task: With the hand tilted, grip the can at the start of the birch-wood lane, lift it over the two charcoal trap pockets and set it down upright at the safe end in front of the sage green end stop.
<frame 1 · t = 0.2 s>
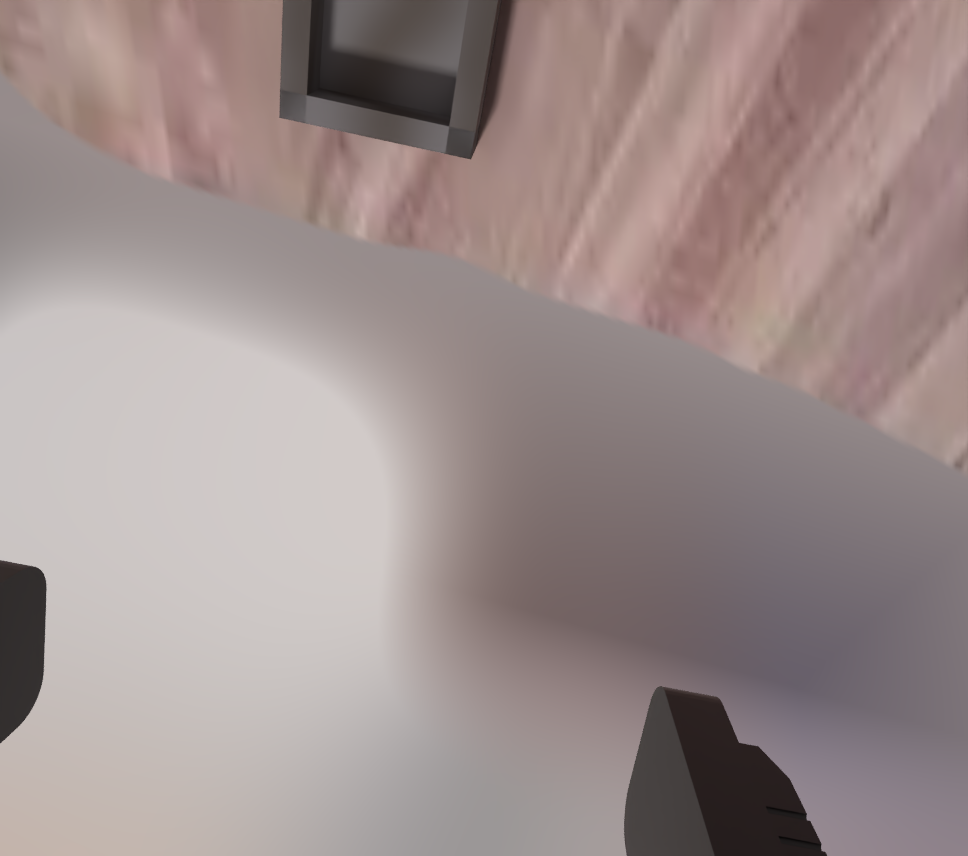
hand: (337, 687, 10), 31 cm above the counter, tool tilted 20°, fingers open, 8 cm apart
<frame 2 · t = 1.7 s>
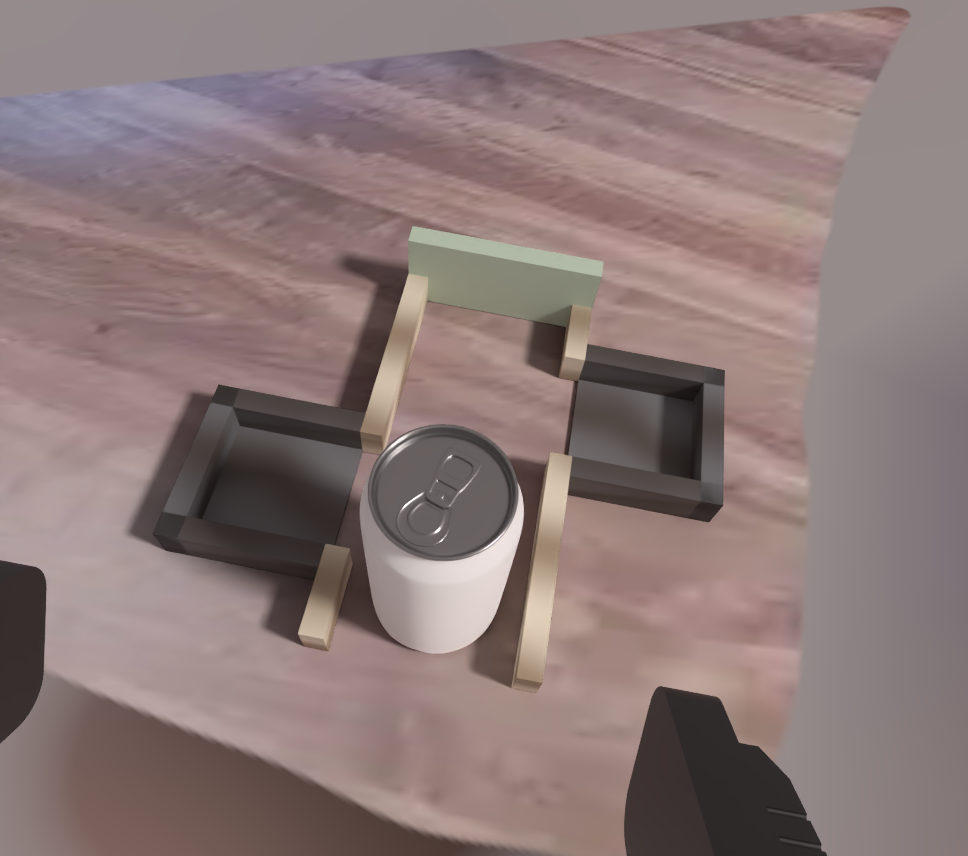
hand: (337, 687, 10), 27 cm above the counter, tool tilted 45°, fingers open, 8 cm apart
can: (436, 593, 38), on the counter
lane: (462, 470, 42), on the counter
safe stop: (485, 363, 45), on the counter
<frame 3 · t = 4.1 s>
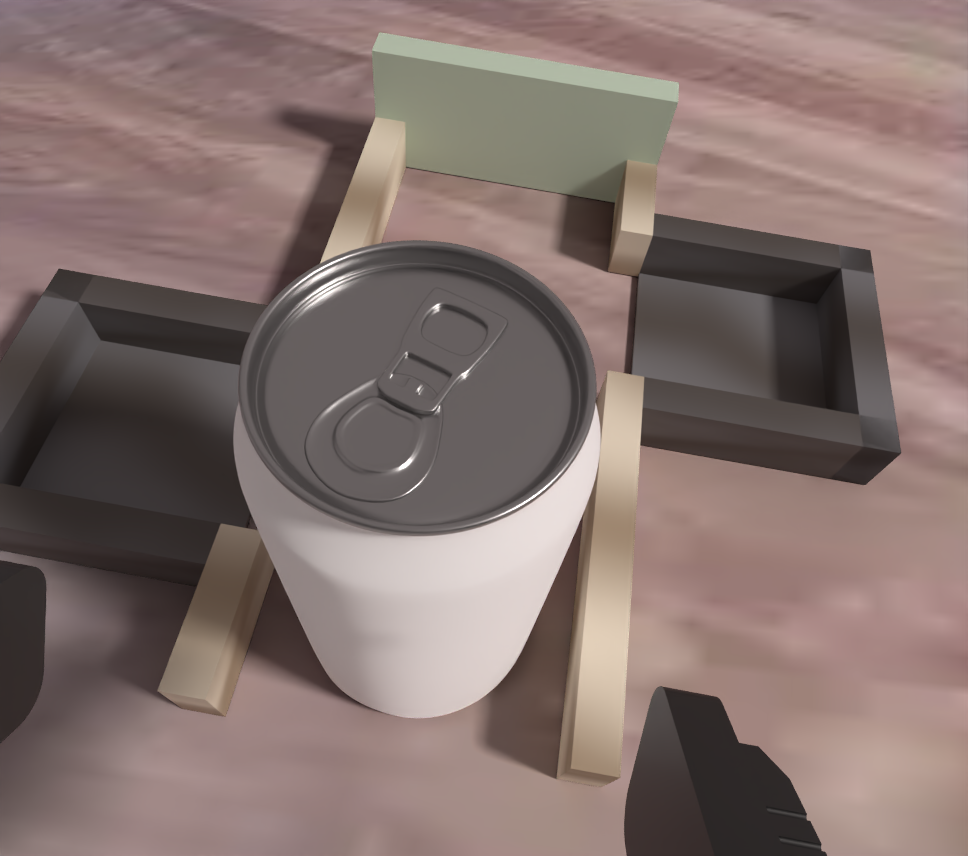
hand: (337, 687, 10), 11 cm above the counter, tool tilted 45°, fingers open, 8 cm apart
can: (420, 608, 22), on the counter
lane: (462, 408, 26), on the counter
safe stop: (495, 252, 30), on the counter
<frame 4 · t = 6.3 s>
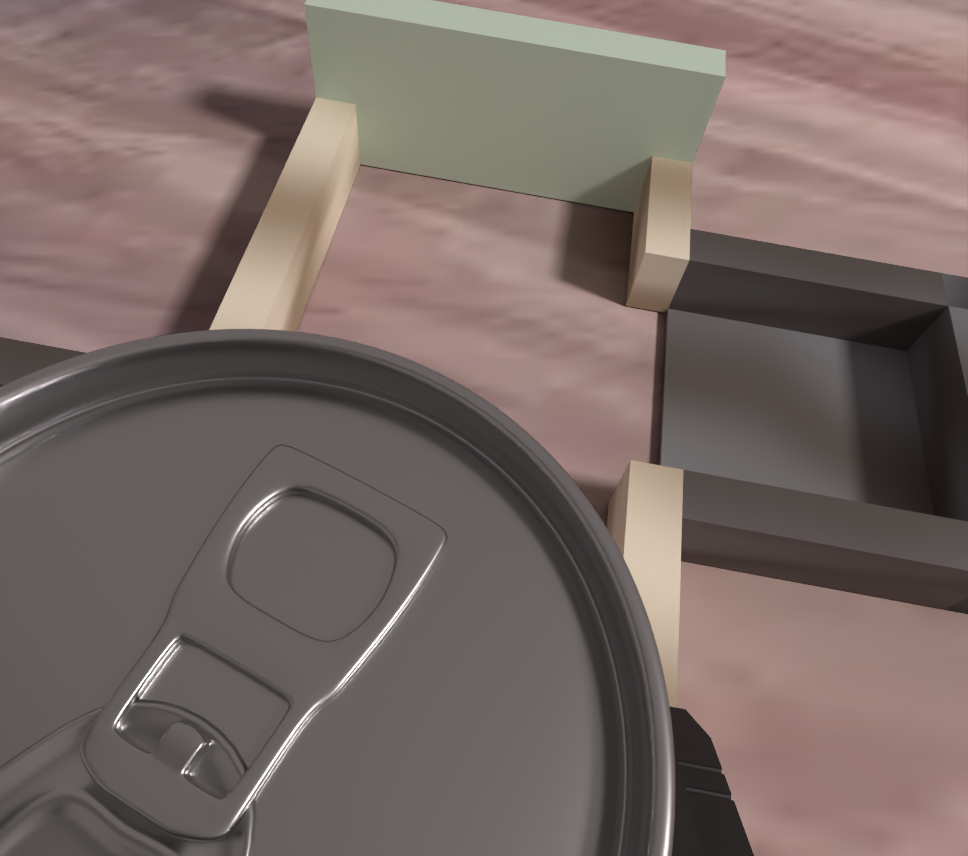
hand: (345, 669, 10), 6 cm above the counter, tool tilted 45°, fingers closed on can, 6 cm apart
can: (349, 831, 15), on the counter, touching gripper
lane: (423, 505, 18), on the counter
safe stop: (475, 279, 22), on the counter
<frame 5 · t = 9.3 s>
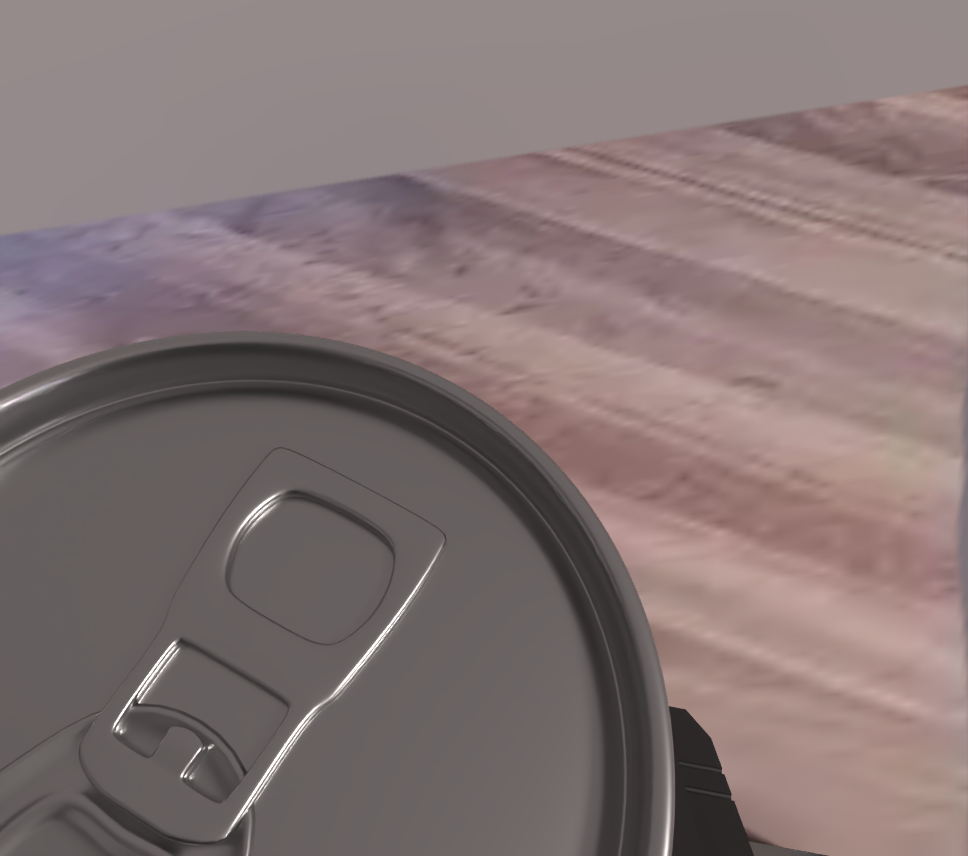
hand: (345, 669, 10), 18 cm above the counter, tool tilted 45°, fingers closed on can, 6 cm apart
can: (350, 832, 15), point 12 cm above the counter, touching gripper
when the fingers open (7 cm above the counter, at t = 12.6 s): can moves 1 cm, on the counter.
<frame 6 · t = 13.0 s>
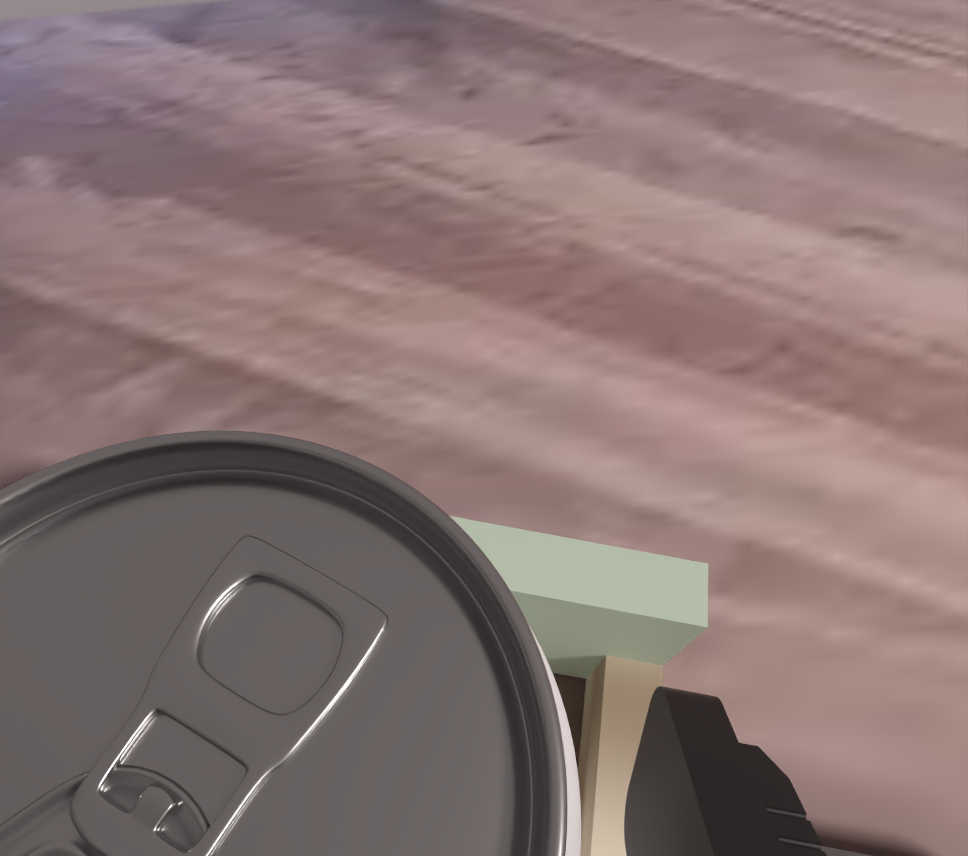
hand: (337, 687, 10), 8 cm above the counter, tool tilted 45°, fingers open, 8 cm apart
can: (334, 843, 16), on the counter
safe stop: (354, 834, 15), on the counter
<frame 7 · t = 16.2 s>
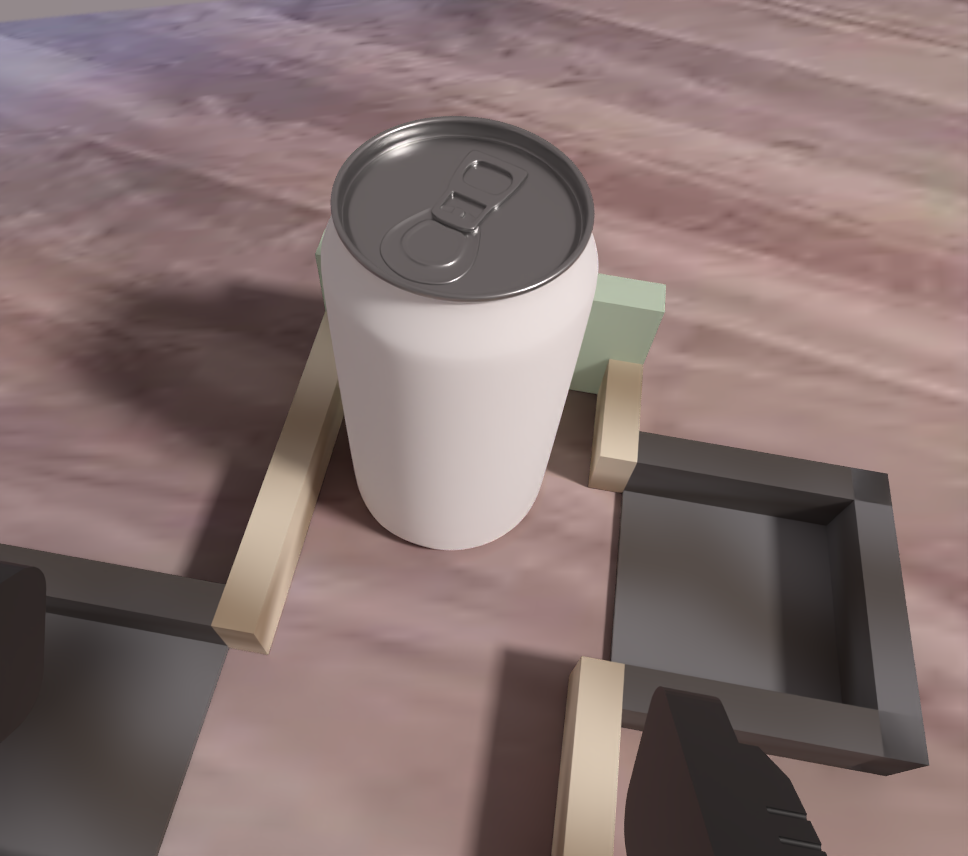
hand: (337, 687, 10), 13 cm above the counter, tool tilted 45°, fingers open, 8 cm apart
can: (449, 471, 26), on the counter
lane: (416, 682, 22), on the counter
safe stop: (460, 465, 26), on the counter
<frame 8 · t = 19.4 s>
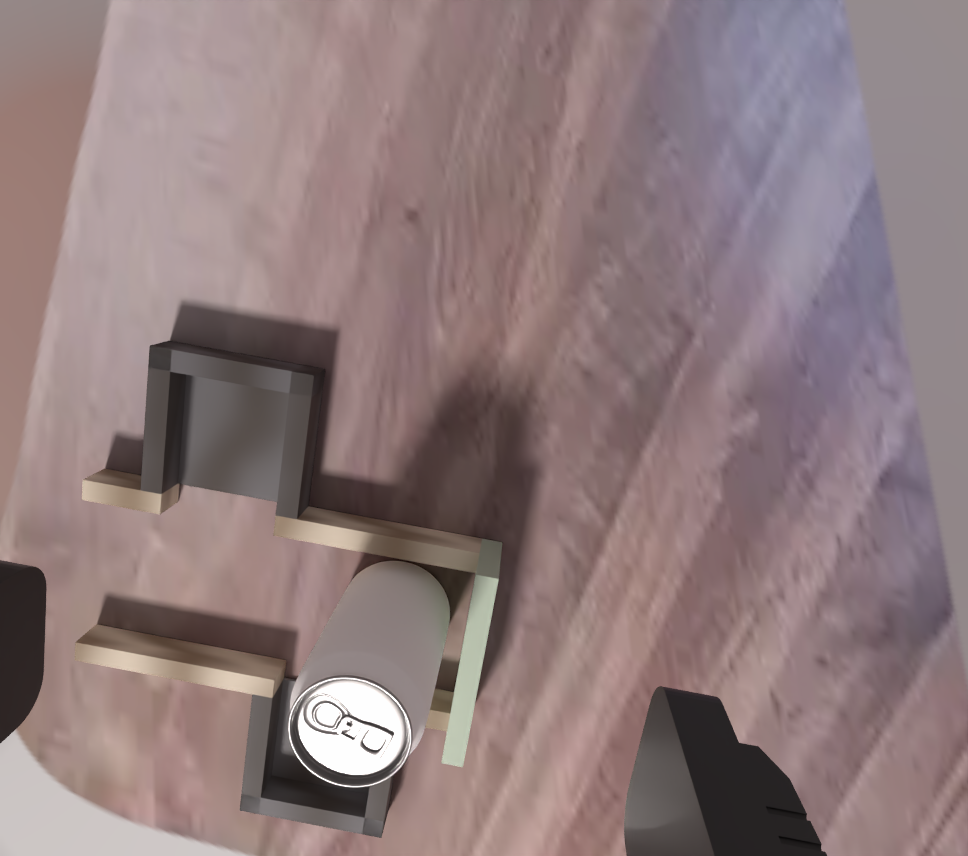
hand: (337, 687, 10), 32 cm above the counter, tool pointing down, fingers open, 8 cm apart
can: (398, 606, 45), on the counter
lane: (278, 591, 45), on the counter
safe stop: (400, 614, 45), on the counter
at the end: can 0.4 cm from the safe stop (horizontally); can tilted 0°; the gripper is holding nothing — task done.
